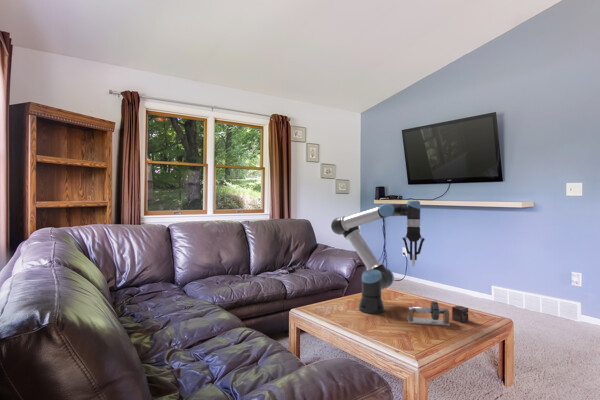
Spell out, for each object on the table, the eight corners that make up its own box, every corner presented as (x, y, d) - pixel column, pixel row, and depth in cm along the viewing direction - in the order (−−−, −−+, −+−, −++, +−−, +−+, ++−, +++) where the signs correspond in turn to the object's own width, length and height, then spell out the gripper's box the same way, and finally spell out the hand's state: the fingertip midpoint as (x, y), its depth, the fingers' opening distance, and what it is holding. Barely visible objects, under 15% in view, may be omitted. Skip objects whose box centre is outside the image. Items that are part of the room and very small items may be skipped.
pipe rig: (409, 322, 180) (409, 308, 180) (407, 318, 187) (407, 304, 187) (450, 325, 176) (450, 310, 177) (446, 321, 183) (446, 306, 183)
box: (461, 323, 180) (461, 309, 180) (451, 319, 186) (451, 306, 186) (468, 321, 183) (468, 308, 183) (458, 318, 188) (458, 305, 189)
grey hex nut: (434, 321, 177) (434, 304, 177) (430, 316, 186) (430, 299, 186) (439, 322, 176) (439, 304, 177) (435, 316, 185) (435, 299, 186)
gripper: (402, 226, 197) (402, 266, 197) (425, 227, 194) (425, 267, 194) (401, 225, 205) (401, 263, 204) (424, 226, 201) (423, 265, 201)
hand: (413, 265), depth 199 cm, fingers closed
